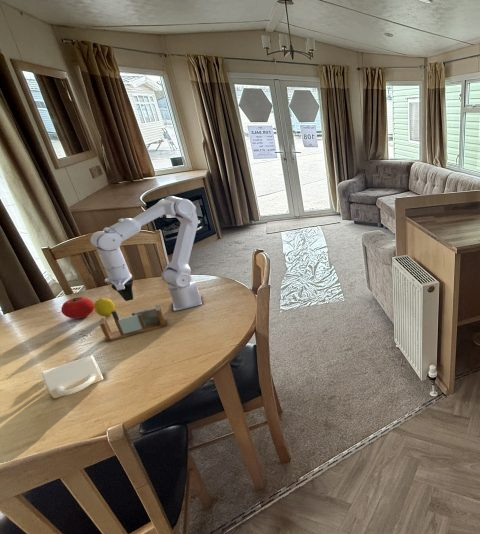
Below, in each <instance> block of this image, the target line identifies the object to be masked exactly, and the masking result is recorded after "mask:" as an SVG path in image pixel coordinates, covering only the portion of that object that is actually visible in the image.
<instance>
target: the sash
mask: <svg viewBox="0 0 480 534" xmlns="http://www.w3.org/2000/svg"><path fill="white" fill-rule="evenodd" d="M111 313H112V314H111V316H112V317H113V320H114V323H115V326H116V328H117V331H119V332H120V334H121V335H122V334H125V333H129V332H133V331H137V330H140V329H145V328H146V326H145V324H144V321H143V319H142V316H141V314H138V315H134V316H132V315H131V316H126V317H122V318H119V315H118V313H117V311H116V310H115V311H112V312H111Z"/></svg>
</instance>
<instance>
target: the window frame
mask: <svg viewBox="0 0 480 534" xmlns="http://www.w3.org/2000/svg"><path fill="white" fill-rule="evenodd" d="M138 314H141V316H142V319H143V321H144V324H145V326H146V328H145V329H140V330H137V331H133V332H129V333H125V334H122V335H121V334H120V332H119V330H116V331H113V332H112V330H111V328H110V326H109V323H108V321H107V320H106V318H105V317H103V318H100V322H99V327H100V329H101V330H102V332H103V335H104V338H105V339H106V341H107V342H111V341H115V340H118V339H123V338H126V337H130V336H134V335H138V334H142V333H145V332H149V331H153V330H157V329H160V328H164V327H166V319H165V317H164V314H163V311H162V309H161V306H160V305H155V307H152V308H149V309H145V310H140V311H136V312H132V313H131V316H134V315H138Z"/></svg>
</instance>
